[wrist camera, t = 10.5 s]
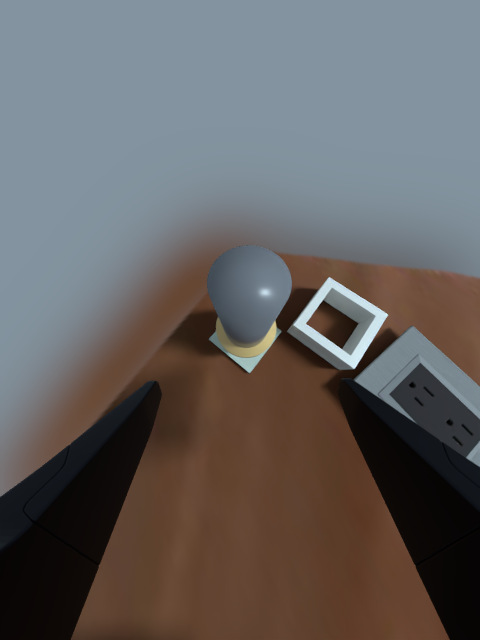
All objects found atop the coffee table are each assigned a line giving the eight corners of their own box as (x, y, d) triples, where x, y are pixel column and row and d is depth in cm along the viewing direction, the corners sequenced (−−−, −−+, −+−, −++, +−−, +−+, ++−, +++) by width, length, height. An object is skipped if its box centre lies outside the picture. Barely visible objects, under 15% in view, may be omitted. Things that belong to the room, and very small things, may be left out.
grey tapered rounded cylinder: (260, 368, 20) (289, 358, 8) (213, 349, 21) (169, 313, 8) (276, 322, 22) (321, 251, 9) (231, 306, 22) (217, 220, 10)
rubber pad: (249, 373, 20) (249, 373, 20) (209, 340, 22) (208, 339, 21) (280, 332, 22) (281, 331, 21) (241, 302, 23) (241, 301, 22)
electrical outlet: (335, 387, 20) (347, 388, 18) (397, 329, 22) (415, 324, 20) (438, 504, 17) (468, 524, 15) (501, 427, 19) (536, 434, 17)
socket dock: (338, 369, 20) (354, 369, 18) (286, 331, 22) (293, 324, 19) (369, 322, 22) (388, 314, 19) (318, 289, 23) (329, 277, 20)
